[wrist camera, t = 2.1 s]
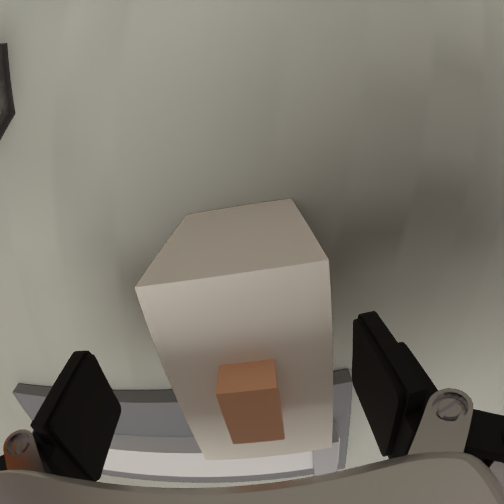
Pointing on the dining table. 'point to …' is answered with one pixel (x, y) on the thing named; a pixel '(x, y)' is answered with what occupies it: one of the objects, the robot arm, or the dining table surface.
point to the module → (245, 329)
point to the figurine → (5, 91)
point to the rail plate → (174, 423)
